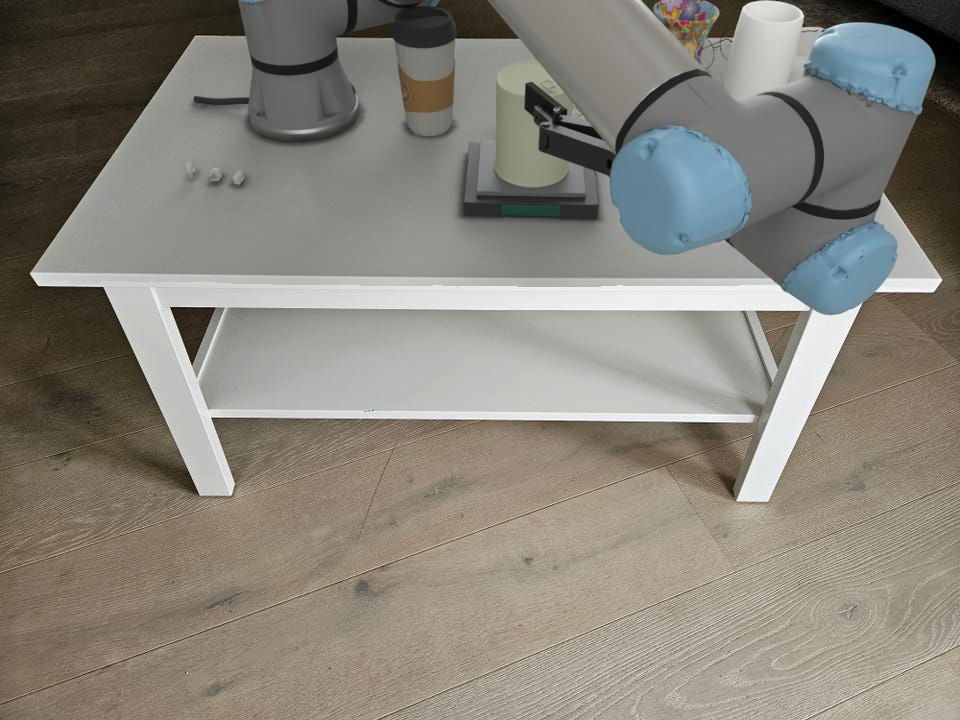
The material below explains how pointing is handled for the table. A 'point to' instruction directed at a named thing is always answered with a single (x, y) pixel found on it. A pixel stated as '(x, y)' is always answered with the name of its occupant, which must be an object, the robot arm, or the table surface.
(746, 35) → the cup
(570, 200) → the kitchen scale
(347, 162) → the table surface
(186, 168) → the set of white lumps
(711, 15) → the mug
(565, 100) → the can
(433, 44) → the coffee cup
